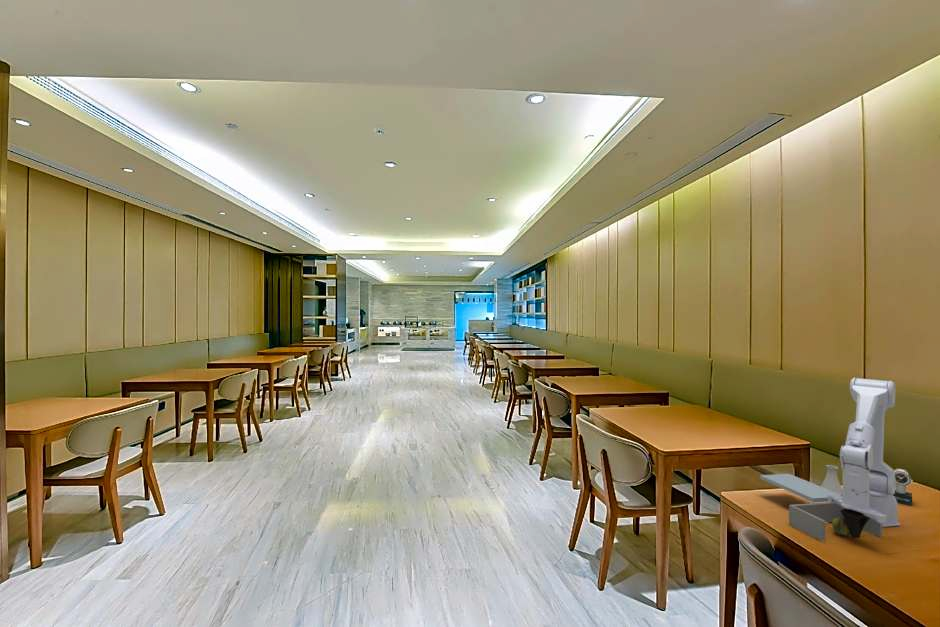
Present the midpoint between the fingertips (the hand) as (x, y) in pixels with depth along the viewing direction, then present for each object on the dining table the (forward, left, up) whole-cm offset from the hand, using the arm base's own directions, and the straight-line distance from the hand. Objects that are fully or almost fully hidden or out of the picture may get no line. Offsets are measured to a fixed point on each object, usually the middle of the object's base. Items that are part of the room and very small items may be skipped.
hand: (855, 537), depth 126 cm
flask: (-26, -30, -1) cm, 40 cm away
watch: (-44, -21, -1) cm, 49 cm away
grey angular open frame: (0, -6, -1) cm, 6 cm away
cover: (-5, -21, +5) cm, 22 cm away
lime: (0, -3, -1) cm, 3 cm away
